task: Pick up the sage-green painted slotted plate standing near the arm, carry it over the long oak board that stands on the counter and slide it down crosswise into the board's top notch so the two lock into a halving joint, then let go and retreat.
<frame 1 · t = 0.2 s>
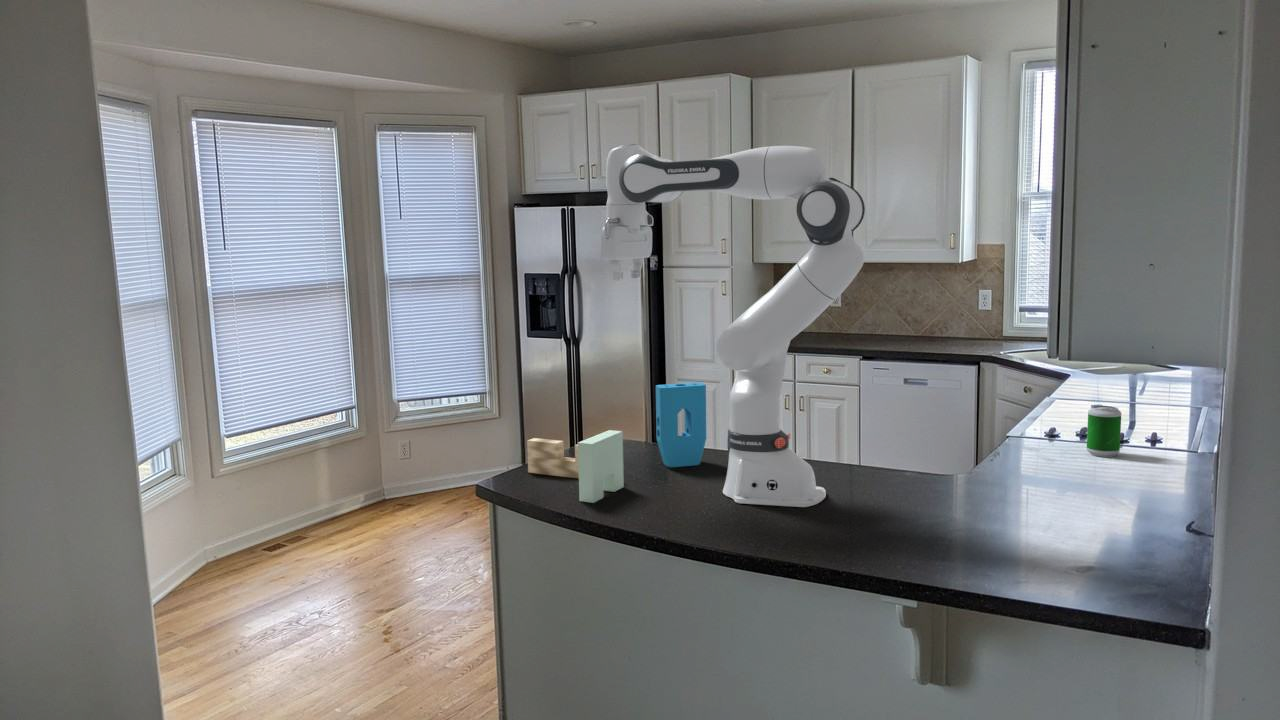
hand: (627, 279, 218), 47 cm above the table, fingers open, 8 cm apart
sage plate: (602, 493, 213), on the table
oak board: (570, 475, 229), on the table
block: (681, 464, 239), on the table
soda can: (1102, 455, 240), on the table
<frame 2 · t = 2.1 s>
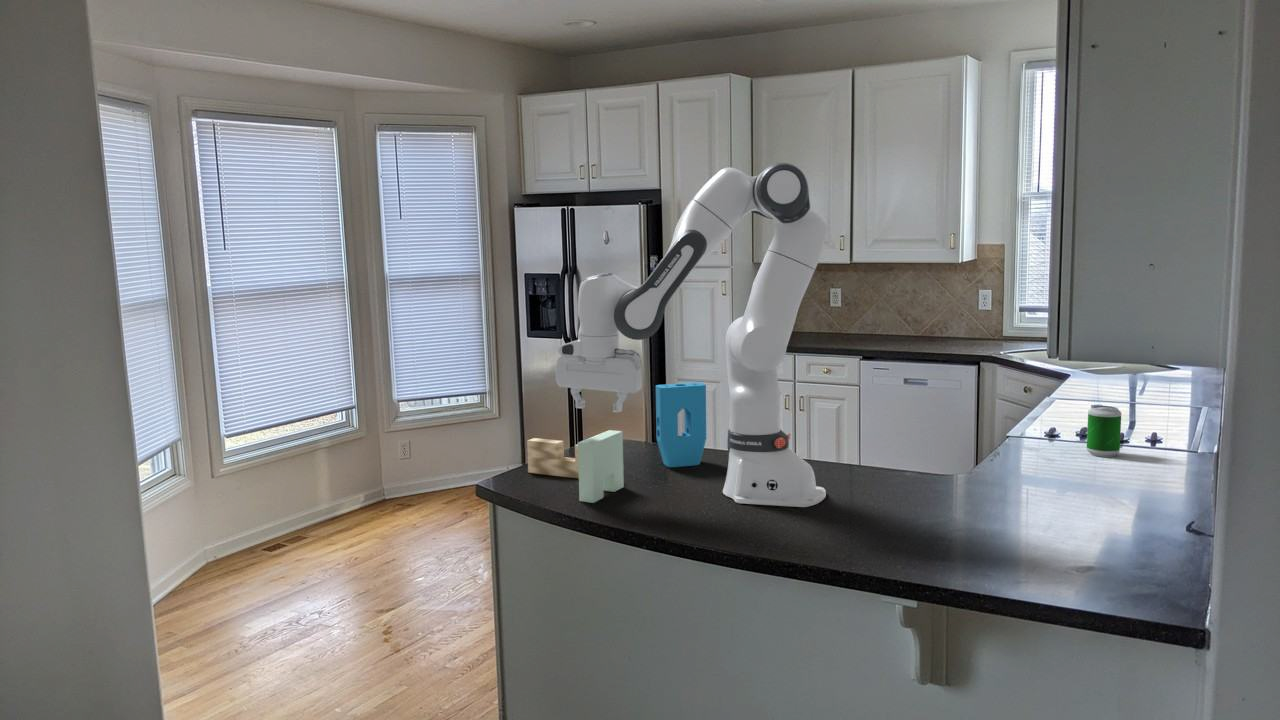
hand: (598, 409, 210), 19 cm above the table, fingers open, 8 cm apart
nothing on the table moved.
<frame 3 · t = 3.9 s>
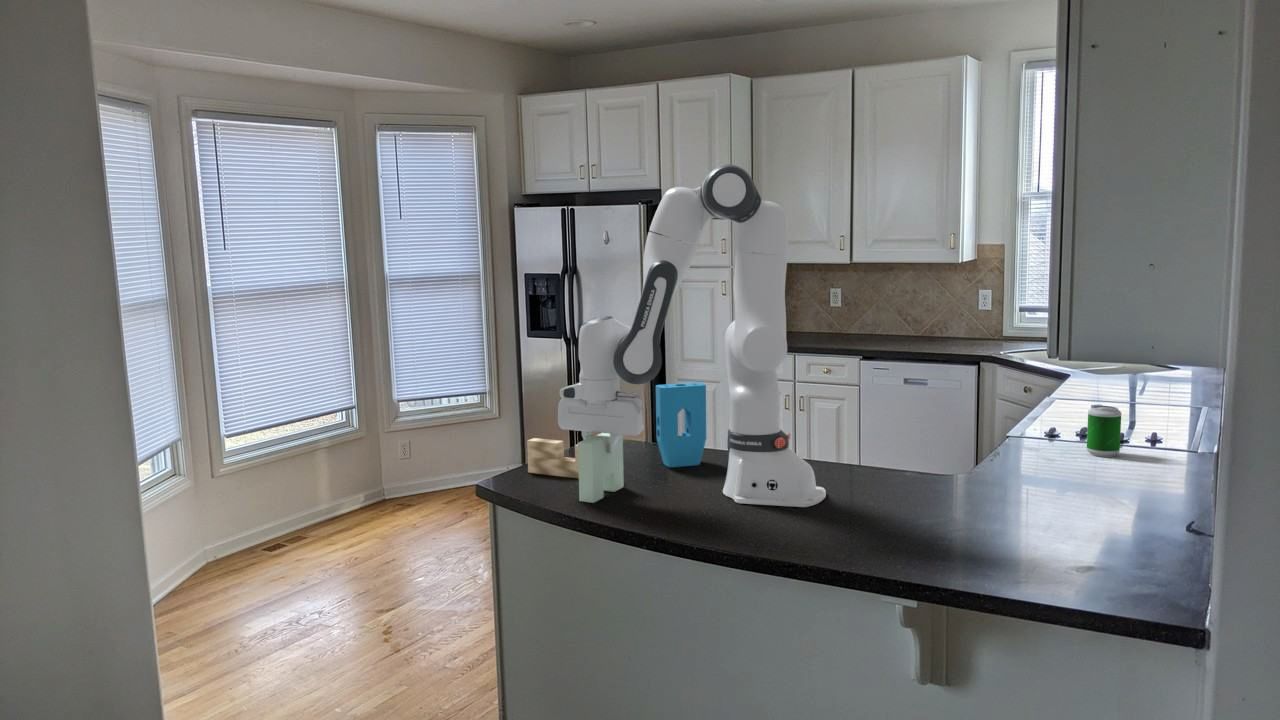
hand: (601, 451, 211), 10 cm above the table, fingers closed on sage plate, 3 cm apart
sage plate: (602, 493, 213), on the table, touching gripper
everything else where it was.
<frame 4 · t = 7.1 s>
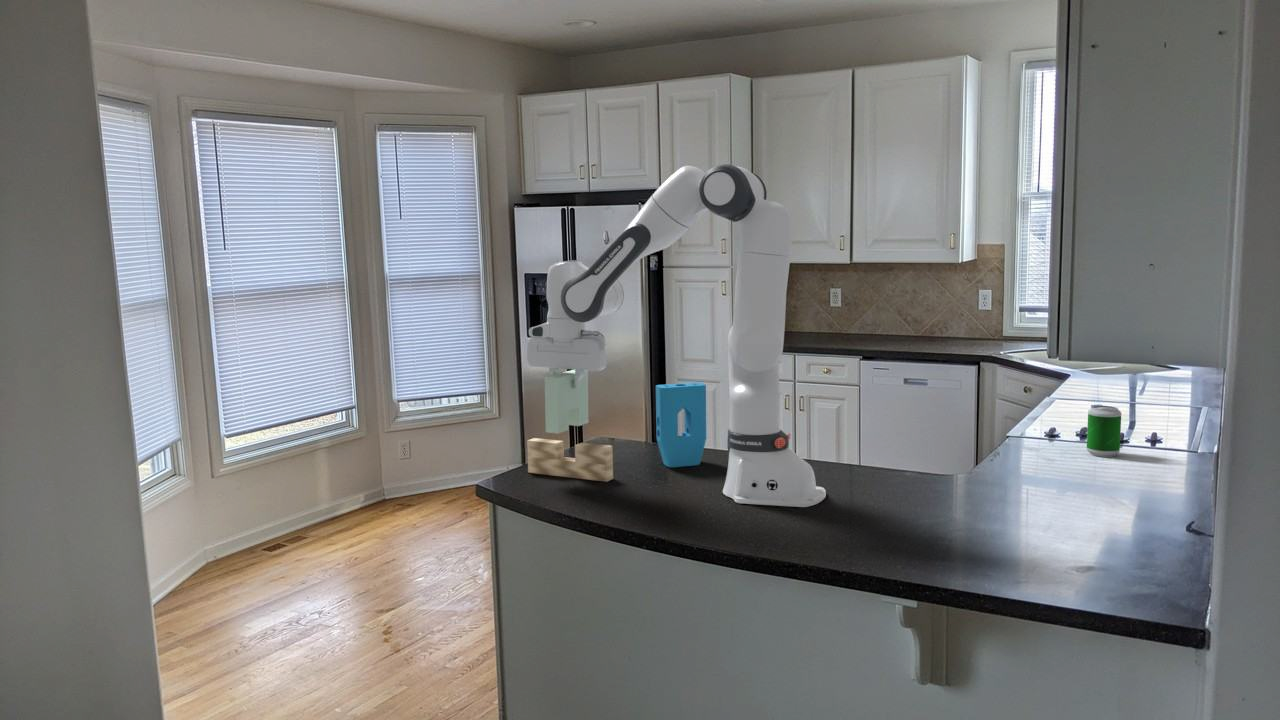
hand: (567, 387, 226), 22 cm above the table, fingers closed on sage plate, 3 cm apart
sage plate: (567, 427, 227), point 12 cm above the table, touching gripper
everything else where it was.
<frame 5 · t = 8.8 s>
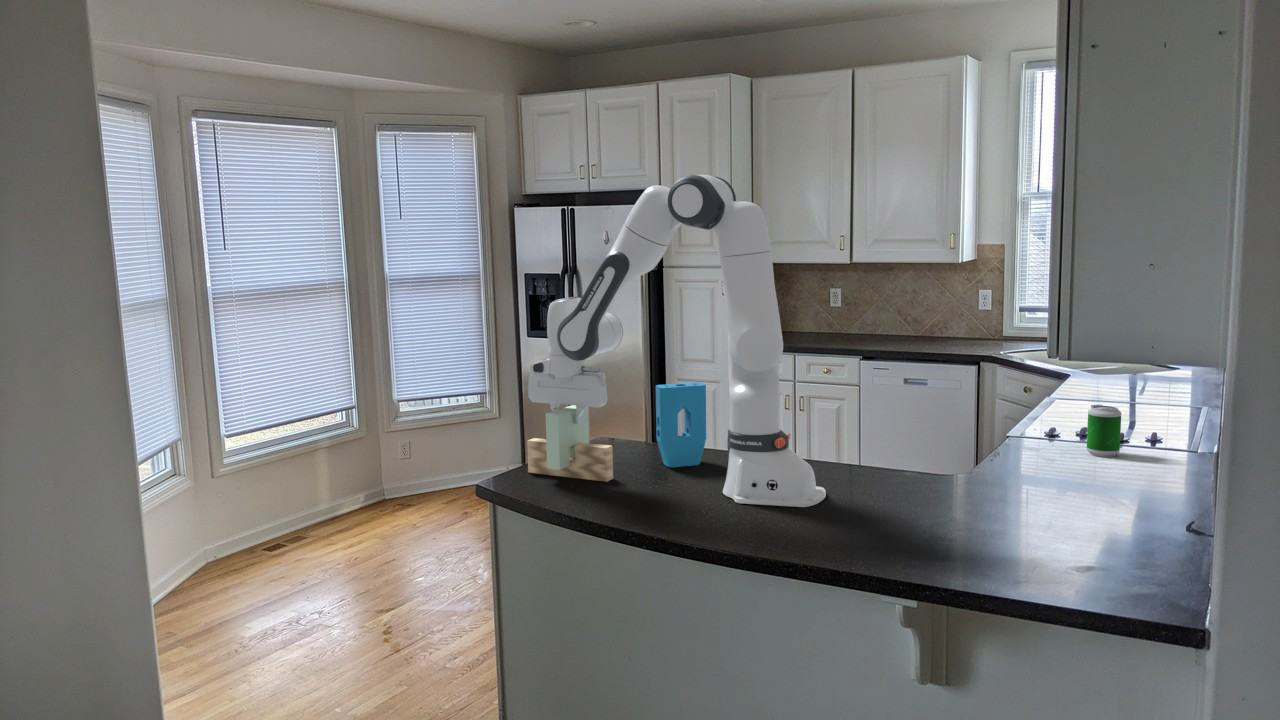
hand: (568, 422, 227), 13 cm above the table, fingers closed on sage plate, 3 cm apart
sage plate: (568, 462, 229), point 3 cm above the table, touching gripper
everything else where it was.
when the fingers open (10 cm above the table, at t = 10.1 s): sage plate stays where it is, on the table.
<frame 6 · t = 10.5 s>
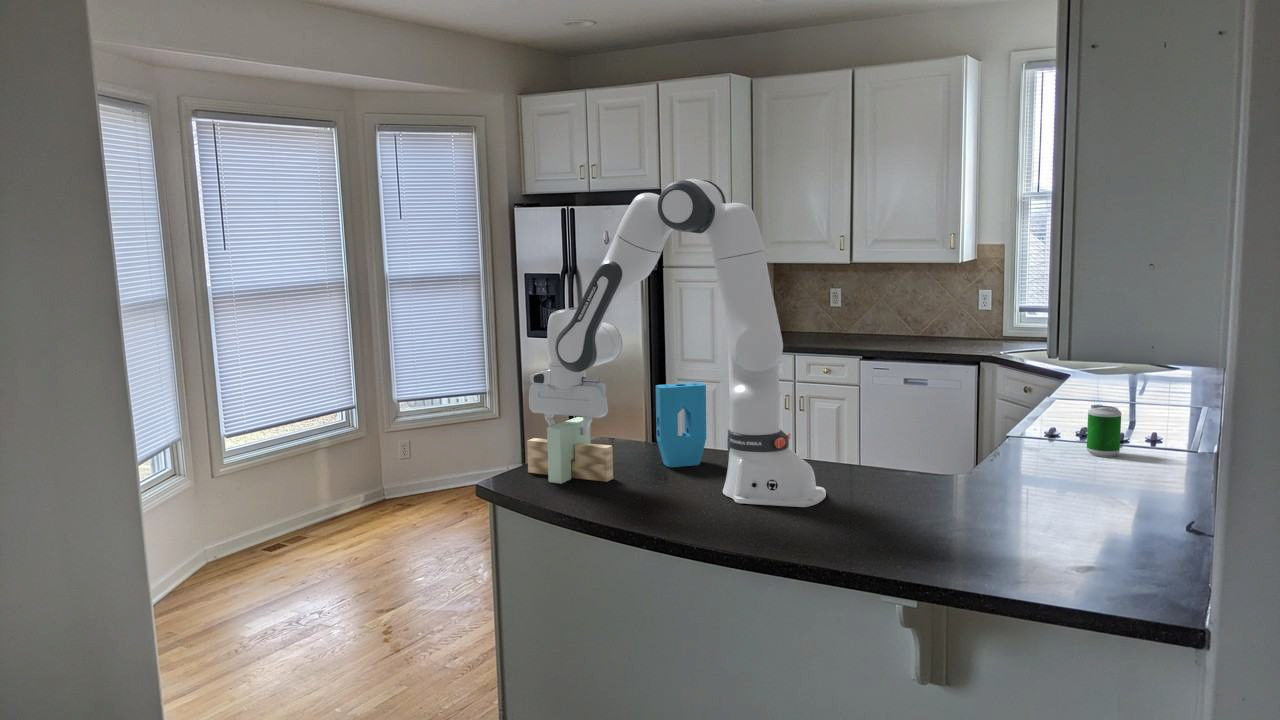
hand: (568, 433, 228), 10 cm above the table, fingers open, 7 cm apart
sage plate: (570, 475, 229), on the table
everything else where it was.
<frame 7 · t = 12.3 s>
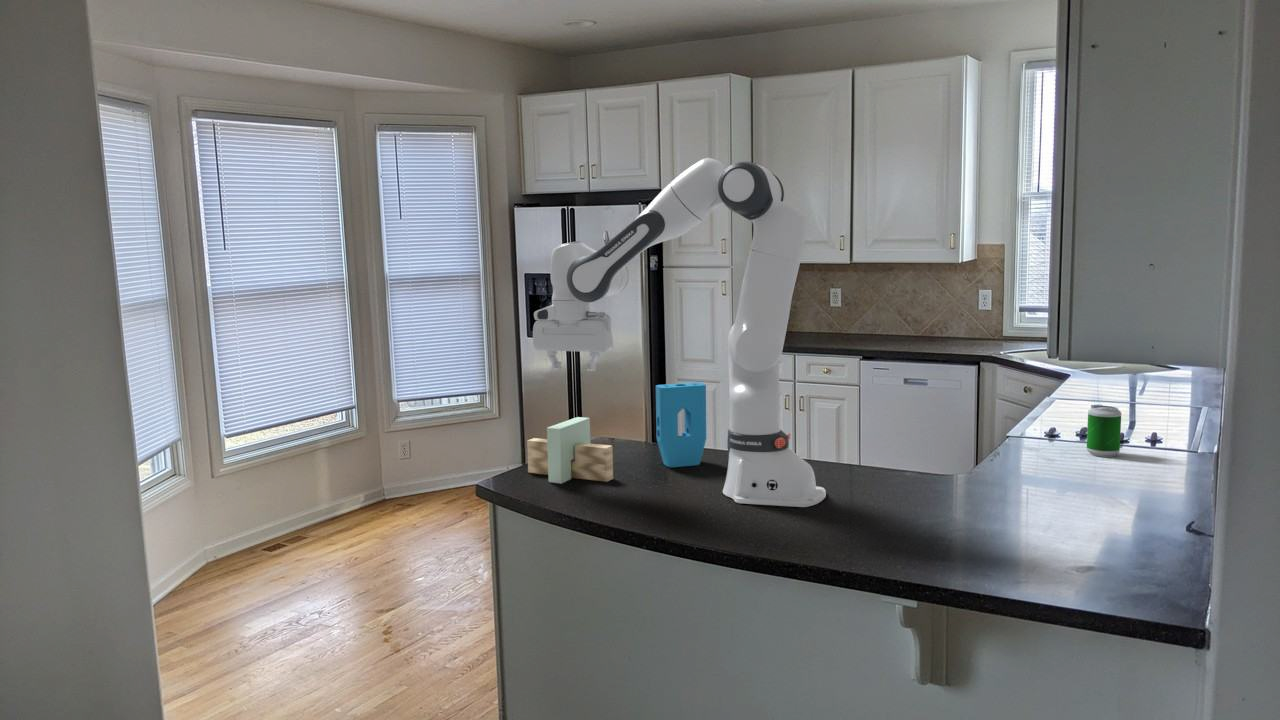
hand: (574, 369, 225), 26 cm above the table, fingers open, 8 cm apart
nothing on the table moved.
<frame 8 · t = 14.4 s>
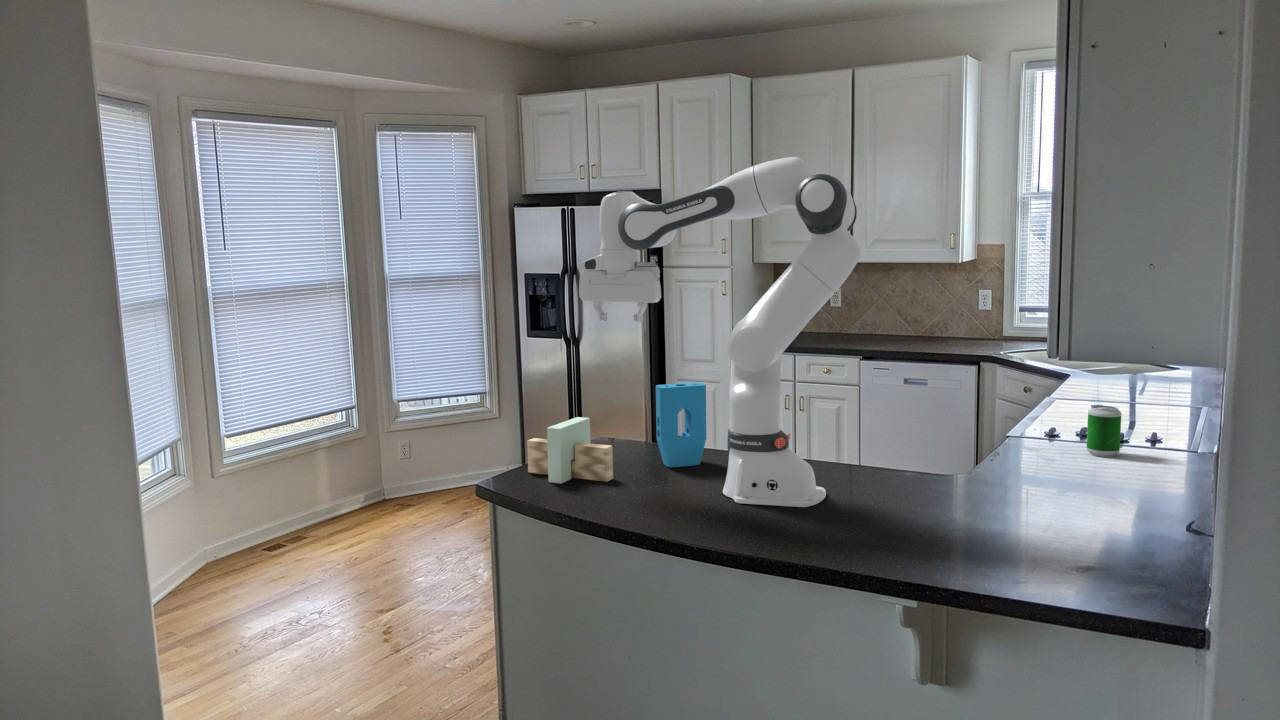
hand: (620, 321, 223), 37 cm above the table, fingers open, 8 cm apart
nothing on the table moved.
at the end: sage plate 0.2 cm off-centre on the oak board, point 0.0 cm above the oak board's base; sage plate tilted 0°; the gripper is holding nothing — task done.
